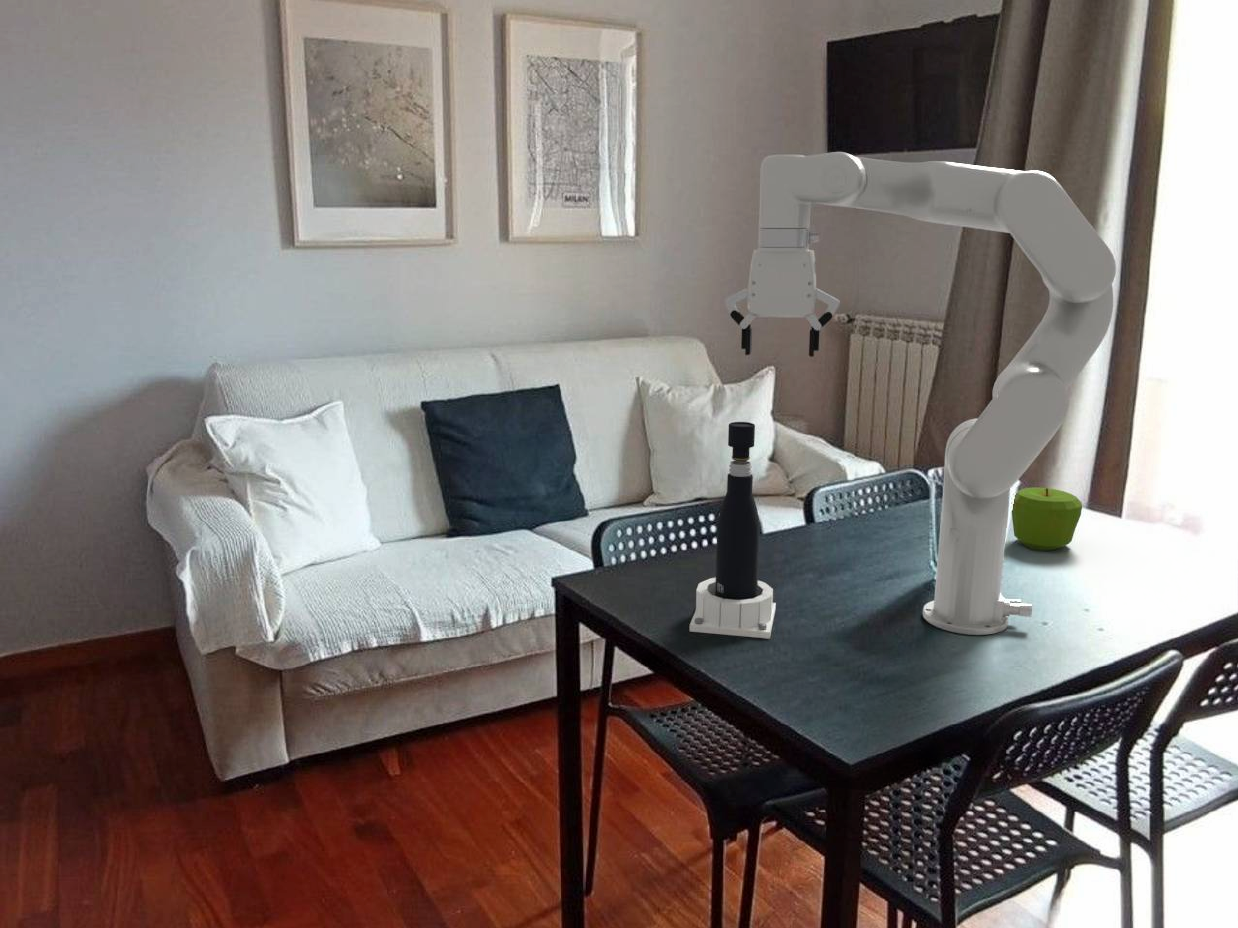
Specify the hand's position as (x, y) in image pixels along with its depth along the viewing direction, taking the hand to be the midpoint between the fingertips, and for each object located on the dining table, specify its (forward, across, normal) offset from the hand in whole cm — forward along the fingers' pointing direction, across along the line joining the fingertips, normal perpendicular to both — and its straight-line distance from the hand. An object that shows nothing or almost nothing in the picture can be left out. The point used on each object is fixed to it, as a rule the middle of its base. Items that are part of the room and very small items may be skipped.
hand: (779, 354), depth 158 cm
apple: (+41, -49, -40) cm, 75 cm away
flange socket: (+40, +5, +10) cm, 42 cm away
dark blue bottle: (+39, +5, +10) cm, 41 cm away
